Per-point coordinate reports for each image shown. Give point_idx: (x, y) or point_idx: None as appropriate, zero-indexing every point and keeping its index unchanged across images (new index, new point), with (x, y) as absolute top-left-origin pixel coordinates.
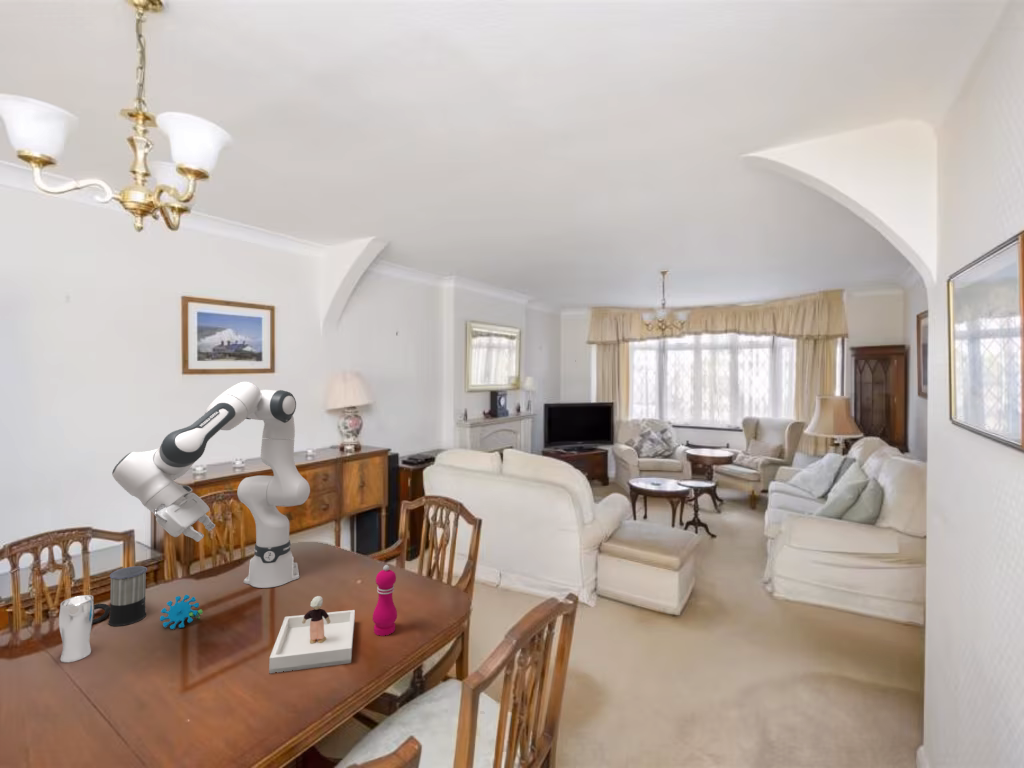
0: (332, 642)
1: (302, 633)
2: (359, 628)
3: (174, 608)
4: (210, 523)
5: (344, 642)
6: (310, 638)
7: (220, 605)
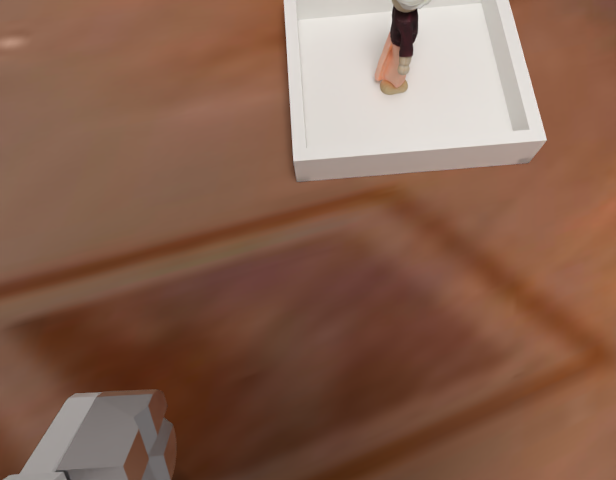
0: None
1: (346, 121)
2: None
3: None
4: (121, 451)
5: None
6: (399, 85)
7: None
